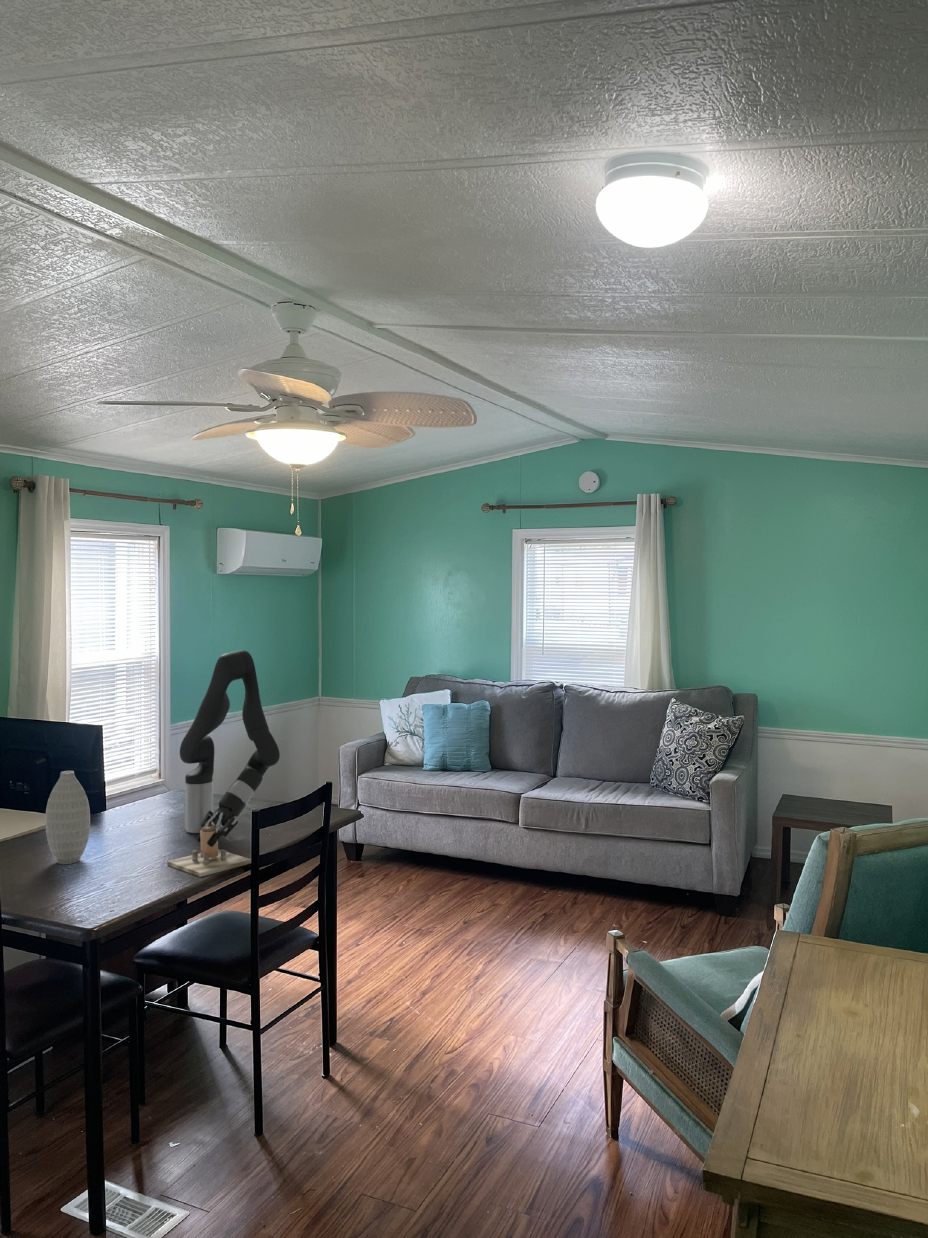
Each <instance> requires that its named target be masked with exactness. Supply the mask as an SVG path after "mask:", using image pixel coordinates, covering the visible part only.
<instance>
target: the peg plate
mask: <svg viewBox="0 0 928 1238" xmlns="http://www.w3.org/2000/svg"><path fill="white" fill-rule="evenodd" d="M249 864H252V858H247V857H245V856H241V855H238V854H235V853H232V852H229V851H227V850H226V849H219V848H218V856H217V857H214V858H209V854H204V858H202V857H201V852H200V853H199V850H197V849H195V850H192V851H191V854H190V855H187V856H182V857H180V858H175V859H171V860H167V861H166V865H167V866H169V867H172V868H174V869H177V870H180V871H183V872H185V873H188V874H191V875H194V876H197V877H200V878H201V877H205V876H208V875H212V874H216V873H220V872H224V871H227V870H232V869H235V868H238V867H242V866H243V867H244V866H247V865H249Z"/></svg>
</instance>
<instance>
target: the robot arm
mask: <svg viewBox="0 0 928 1238" xmlns="http://www.w3.org/2000/svg"><path fill="white" fill-rule="evenodd" d="M256 671H257V670H256V667H255V662H254V659H253V657H252V655H251V653H250V652H248V651H247V650H244V649H241V650H236V651H232V652H228V653H224V654H221V655H220V656H219V657H218V658H217V661H216V663H215V666H214V669H213V671H212V672H213V673H212V676H211V678H210V683H209V684H208V688H207V690H206V693H205V695H204V697H203V698H202V701H201V703H200V706H199V708H198V711H197V713H196V716H195V717H194V720H193V722H192V724H191V725H190V728H189V729H188V731H187V732H186V734H185V736H184V738H183V739H182V741H181V743H180V745H179V746H180V747H179V757H180V760H181V761H182V762H183V763H184V764H190V765H191V764H198V765H197V766H196V767H195V768H194V769H193V770H191V771H189V772H188V773H186V775H185V779H184V781H185V782H184V783H185V803H184V830H185V831H186V832H187V833H191V834H199V835H198V836H197V838H196V841H197V843H199V844H201V841H200V830H202V827H204V826H216V830H215V833H213V835H212V836H211V837H210V839H209V840H208V842H207V844H208V845H209V846H210V847H213V846H214V844H215V843H216V842H217V840H218V841H219V839H220V838H222V837H228V835H229V834H230V833H231V831H232V830H233V829H234V828H235V827H236V826H237V825H238V824H239V821H238V819H236V818H237V817H239V816H240V815H241V813H242V812H243V811H244V809H245V807H246V806H247V805H248V803H249V802H250V800H251V799H252V797H253V795H254V793H255V792H256V790H257V789H258V787H259V786H260V784H261V783H262V781H263V776H264V775H265V773H266V772H267V770H268V769H269V768H270V767H273V766H275V765H277V763H278V762H279V760H280V757H281V756H280V755H281V752H280V749H279V746H278V744H277V742H276V740H275V737H274V736H273V735H272V733H271V731H270V727H269V725H268V721H267V719H266V715H265V712H264V710H263V709H264V708H263V706H262V702H261V696H260V689H259V688H260V687H259V682H258V677H257V672H256ZM237 680H242V681H243V682H242V683H243V685H244V686H243V687H244V700H243V704H242V711H241V713H242V722H243V725H244V728H245V731H246V734H247V737H248V739H249V740H250V741H251V742H253V743H254V746H255V748H256V750H255V751H254V752H253V753H252V754H251V756H250V758H249V760H248V762H247V763H246V764H245V767H244V768H243V770H242V771H241V772H240V774H239V775H238V777H237V778H236V780H234V782H233V783H232V784H231V785H230V786H229V788H228V789H227V791H226V792H225V793H224V794H223V796H222V797H221V798H220V800H219V801H218V808H217V809H216V810H214V803H213V802H214V794H213V792H214V790H213V785H214V784H213V783H214V782H213V780H214V779H213V775H214V771H215V770H214V769H215V744H214V743H215V742H214V740H213V738H212V736H210V735H209V734H211V733H212V732H213V731H215V730H216V729H217V728H219V726H221V725H222V724H223V722H224V721H225V719H226V717H227V714H228V713H229V710H230V708H231V703H230V702H231V701H230V697H229V696H228V693H227V690H228V688H229V686H230V684H231V683H232V682H234V681H237Z"/></svg>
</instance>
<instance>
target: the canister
mask: <svg viewBox="0 0 928 1238" xmlns="http://www.w3.org/2000/svg"><path fill="white" fill-rule="evenodd" d="M215 830H216V826H204V827H202V830H200V833H199V835H200V841H201V843H200V853H201V857H202V858H204V854H209V858H214V857H217V856H218V849H219V839H218V840H217V842H216V843H215V844H214V846H213V847H210V846H209V845H208V844H207V842H208V840H209V839H210V837H211V836H212V835H213V833H215Z"/></svg>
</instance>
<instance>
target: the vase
mask: <svg viewBox="0 0 928 1238" xmlns="http://www.w3.org/2000/svg"><path fill="white" fill-rule="evenodd" d="M59 774H60V775H59V778H58V780H57V781H56V783H55V784H54V786H53V788H52V790H51V792H50V794H49V797H48V799H47V804H46V809H45V833H46V839H47V844H48V847H49V850H50V852H51V854H52V857H54V859H55V861H56V862H57V863H58V864H59V865H71V864H75V863H78V862H79V861H80V860H81V857H82V856H83V855H84V852H85V850H86V847H87V844H88V842H89V841H88V840H89V836H90V829H91V811H90V809H91V808H90V804H89V803H90V802H89V800H88V796H87V794H86V791H85V789H84V788H83V786H82V784H81V783H80V781H79V780H78V778H77V777H76V775H75V771H74V770H64V771H61V772H60V773H59Z"/></svg>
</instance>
